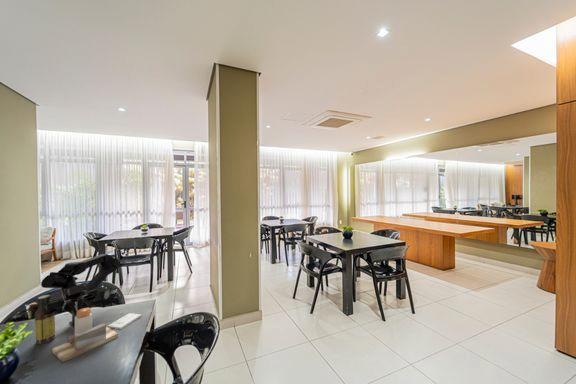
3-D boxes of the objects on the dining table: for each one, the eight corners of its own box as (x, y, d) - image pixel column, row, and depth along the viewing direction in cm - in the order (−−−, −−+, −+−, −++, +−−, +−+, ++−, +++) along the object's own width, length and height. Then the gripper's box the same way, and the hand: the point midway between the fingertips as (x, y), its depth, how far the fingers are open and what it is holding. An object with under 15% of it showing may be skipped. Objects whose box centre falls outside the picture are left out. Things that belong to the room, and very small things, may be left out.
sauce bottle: (57, 334, 110) (57, 292, 110) (51, 342, 104) (51, 297, 104) (38, 338, 107) (38, 295, 107) (31, 346, 101) (31, 300, 101)
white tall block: (74, 339, 104) (74, 311, 104) (88, 333, 108) (88, 306, 108) (78, 342, 101) (78, 313, 101) (92, 336, 105) (92, 309, 106)
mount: (52, 352, 98) (52, 333, 98) (106, 329, 114) (106, 313, 114) (62, 362, 91) (62, 343, 92) (118, 336, 108) (118, 320, 108)
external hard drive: (141, 317, 126) (120, 330, 114) (128, 316, 128) (106, 328, 115) (141, 314, 126) (120, 327, 114) (128, 312, 128) (106, 325, 115)
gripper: (45, 285, 102) (54, 317, 97) (97, 272, 118) (107, 299, 113) (40, 299, 106) (48, 330, 101) (91, 285, 122) (100, 311, 117)
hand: (78, 317), depth 108 cm, fingers closed
